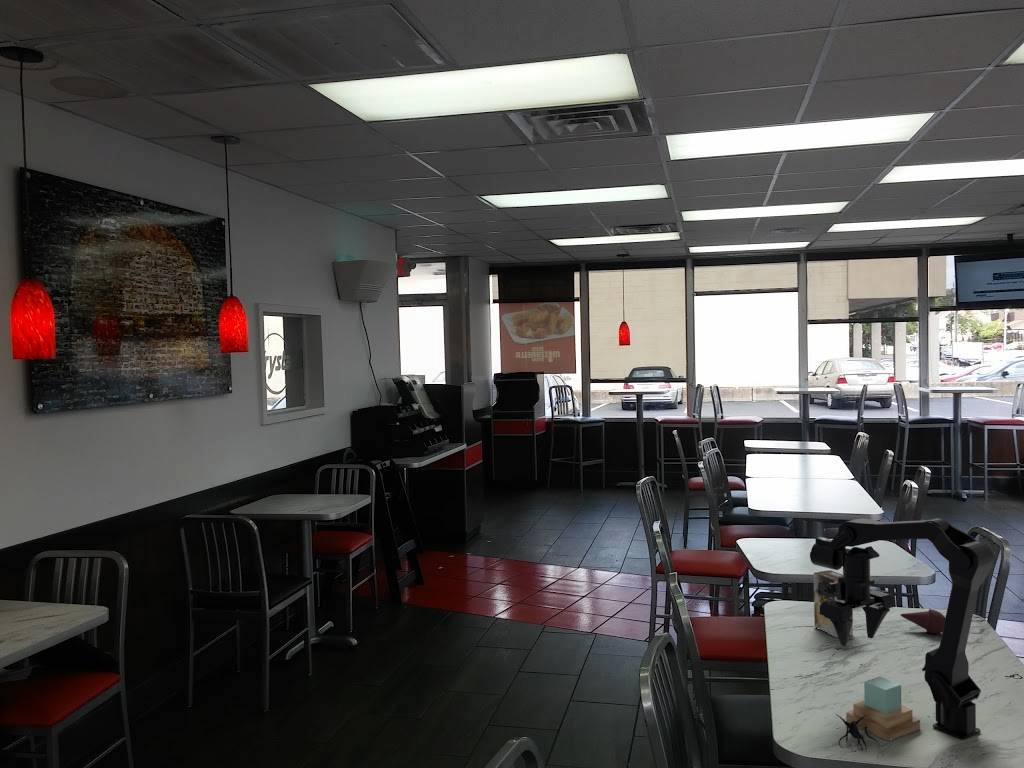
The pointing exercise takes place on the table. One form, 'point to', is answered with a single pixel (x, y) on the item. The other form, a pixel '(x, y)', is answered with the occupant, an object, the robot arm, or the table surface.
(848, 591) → the robot arm
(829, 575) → the coffee box
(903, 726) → the plinth
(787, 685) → the table surface
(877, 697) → the teal block
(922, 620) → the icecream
